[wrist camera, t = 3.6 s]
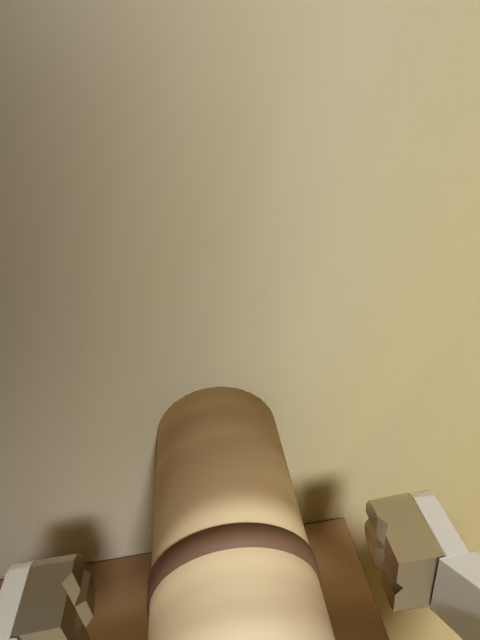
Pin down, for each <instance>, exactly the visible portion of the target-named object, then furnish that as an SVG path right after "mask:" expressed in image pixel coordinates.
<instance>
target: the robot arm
mask: <svg viewBox="0 0 480 640" xmlns="http://www.w3.org/2000/svg"><path fill="white" fill-rule="evenodd" d="M366 513H367V515H368V517H369V519H368V520H367V521H366V523H365V535H366V541H367V545H368V549H369V552H370V555H371V557H372V560H373V563H374V564H375V565H376V566H377V567H378V568H380V569H381V570H382V585H383V588H384V590H385V593H386V595H387V598H388V600H389V603H390V605H391V607H392V610H393V612H397V611H403V610H409V609H415V608H421V607H427V606H430V609H431V610H432V611H433V612H435V613H436V614H437V615H438V616H439V617H440V618H441V619H442V620H443V621H444V622H445V623H446V624H447V625H448V626H449V627H450V628H452V629H453V630H454V631H455V632H456V633H457V634H458V635H459V636H460V637H461V638H462V639H463V640H480V554H479V553H478V552H476V551H474V552H469V551H468V549H467V548H466V546H465V544H464V543H463V541H462V539H461V538H460V536H459V534H458V533H457V531H456V529H455V528H454V526H453V524H452V523H451V521H450V520H449V518H448V516H447V515H446V513H445V511H444V510H443V508H442V506H441V505H440V503H439V501H438V500H437V498H436V497H435V495H434V493H432V492H431V491H430V490H424V491H419V492H414V493H409V494H407V493H405V494H400V495H394V496H389V497H384V498H379V499H374V500H369V501H368V502H367V503H366ZM84 565H85V560H84V558H83V556H82V554H81V553H76V554H70V555H64V556H58V557H52V558H46V559H39V560H32V561H26V562H21V563H15V564H12V565H11V566H10V568H9V569H8V571H7V572H6V574H5V577H4V580H3V583H2V586H1V589H0V640H90V636H89V634H88V632H87V630H86V626H87V625H88V623H89V622H90V621H91V619H92V618H93V617H94V609H95V585H94V581H93V578H92V575H91V573H90V572H88V571H86V570H84Z"/></svg>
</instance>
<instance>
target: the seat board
mask: <svg viewBox="0 0 480 640" xmlns="http://www.w3.org/2000/svg"><path fill="white" fill-rule="evenodd" d="M304 528H305V532H306V536H307V539H308V543H309V545H310V547H311V548H312V550H313V552H314V555H315V558H316V561H317V565H318V568H319V572H320V576H321V579H322V593H323V597H324V601H325V604H326V608H327V611H328V615H329V619H330V622H331V626H332V629H333V633H334V637H335V640H389V638H388V635H387V633H386V630H385V627H384V625H383V622H382V619H381V616H380V614H379V611H378V608H377V606H376V603H375V600H374V598H373V595H372V592H371V590H370V587H369V584H368V581H367V579H366V576H365V573H364V571H363V568H362V565H361V563H360V560H359V557H358V555H357V552H356V549H355V547H354V544H353V541H352V538H351V536H350V533H349V530H348V528H347V525H346V522H345V520H344V518H340V519H334V520H329V521H323V522H317V523H312V524H306V525H304ZM151 563H152V552H151V553H146V554H140V555H134V556H129V557H123V558H118V559H112V560H107V561H101V562H96V563H90V564H85V565H84V570H86V571H88V572H90V573H91V575H92V578H93V581H94V585H95V609H94V617H93V618H92V619H91V621H90V622H89V623H88V625H87V626H86V630H87V632H88V634H89V636H90V640H148V630H149V618H148V614H147V588H148V578H149V573H150V571H151ZM3 580H4V579H1V580H0V589H1V586H2V583H3Z"/></svg>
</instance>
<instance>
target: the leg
mask: <svg viewBox="0 0 480 640" xmlns="http://www.w3.org/2000/svg"><path fill="white" fill-rule="evenodd" d="M147 614H148V618H149V630H148V640H335V637H334V633H333V629H332V626H331V622H330V619H329V615H328V611H327V608H326V604H325V601H324V597H323V593H322V579H321V576H320V572H319V568H318V565H317V561H316V558H315V555H314V552H313V550H312V548H311V547H310V545H309V543H308V539H307V536H306V532H305V528H304V525H303V521H302V518H301V514H300V510H299V507H298V503H297V499H296V496H295V492H294V489H293V485H292V481H291V478H290V474H289V471H288V467H287V463H286V460H285V456H284V452H283V449H282V445H281V442H280V438H279V434H278V431H277V427H276V424H275V420H274V417H273V414H272V412H271V410H270V409H269V407H268V406H267V405H266V404H265V403H264V402H263V401H262V400H261V399H260V398H258V397H257V396H255V395H253V394H251V393H249V392H246V391H244V390H240V389H236V388H229V387H214V388H207V389H202V390H199V391H196V392H193V393H191V394H188V395H186V396H184V397H183V398H181V399H179V400H178V401H177V402H175V403H174V404H173V405H172V406H171V407H170V408H169V409H168V410H167V411H166V413H165V414H164V415H163V417H162V419H161V421H160V424H159V426H158V432H157V452H156V474H155V497H154V519H153V541H152V563H151V571H150V573H149V578H148V588H147Z"/></svg>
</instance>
